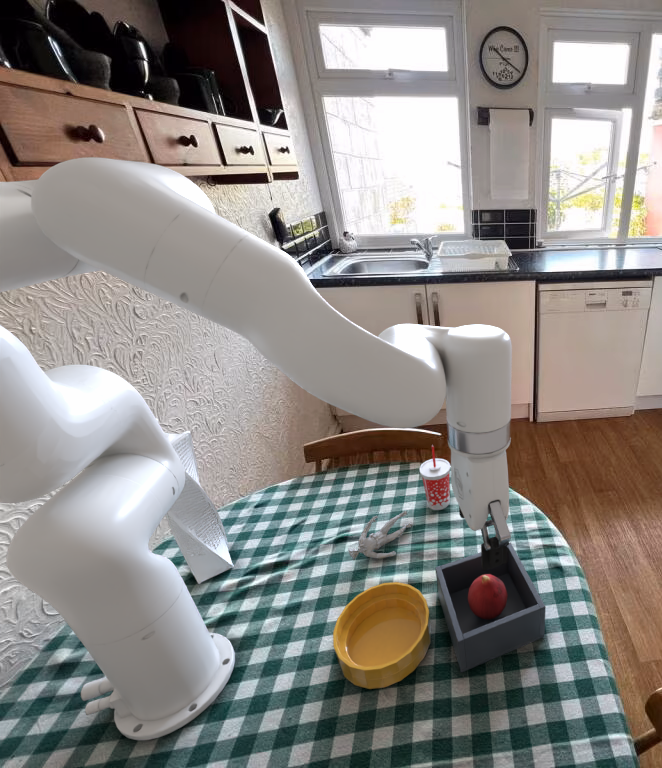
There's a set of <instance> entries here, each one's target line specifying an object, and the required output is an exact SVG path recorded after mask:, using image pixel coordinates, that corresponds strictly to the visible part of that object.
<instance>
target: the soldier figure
mask: <svg viewBox="0 0 662 768" xmlns="http://www.w3.org/2000/svg"><path fill="white" fill-rule="evenodd" d="M407 515H408V511H407V510H404V511H403V512H401V513H399V514H397V515H396V516H394V517H392V518H390V519H389V520H387V521H386V522H385V524H384V525H383V526H382V527H381V528H380V529H379V530H378V531H376V532H372V533H370V534H369V535H368V533H369V531H370V529H371V527H372V524H373V523H375V522H378V521H377V519H378V518H379V517H378V515H374V516H372V518H371V519H370V520H369V521H368V522H367V524H366V525H365V527H363V529H362V531H361V534H360V536H359V539H358V546H357V548H356V547H353V548H347V551H348V554H349V556H350V558H351V559H352V560H353V561H355V560H356V559H357V557H358V556H359V553H360V554H363V555H364V556H365V557H367V558H372V559H378V560H379V559H386V558H391V557H394V556H396V555H397V552H396V551H395V550H393V551H391V552H388V553H386V552H385V553H384V552H383V553H382V552H375V551H377V550H379V549H380V548H381V547H383V546H385V545H387V544H389V543H391V542H393V541H394V540H396V539H397V538H400V537H402V536H403V533H404V532H405V531H406V529H409V528H412V527H414V523H413V522H408V523H406V524H404V525H403V526H402V527H401V528H399V529H398V530H396V531H394V532H392V533H389V531H390V530H391V528H393V526H394V525H395V524H396V522H397V521H398V520H399V519H400V518H403V517H406V516H407ZM388 533H389V534H388ZM367 535H368V537H367Z"/></svg>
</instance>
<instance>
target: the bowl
mask: <svg viewBox="0 0 662 768" xmlns="http://www.w3.org/2000/svg"><path fill="white" fill-rule="evenodd" d="M428 605H429V604H428V602H427V599H426V597H425V596H424V595H423V593H422V592H421V591H420V590H419V589H417V588H416V587H414V586H412V585H411V584H409V583H408V584H407V583H404V582H399V581H395V582H392V581H391V582H383V583H379V584H377V585H374V586H370V587H368V588H367V589H365V590H363V591H362V592H360V593H358V594H357V595H356V596H355V597H354V598H353V599H352V600H350V602H349V603H347V604H346V605H345V607H344V608H343V609H342V611H341V612H340V614H339V616H338V617H337V619H336V623H335V625H334V627H333V631H332V641H333V642H332V645H333V646H332V647H333V650H334V653H335V656H336V659H337V663H338V666H339V668H340V670H341V672H342V674H343V676H344V678H346V679H347V680H348V681H349V682H350V683H352V684H353V685H354V686H357V687H360V688H363V689H364V688H365V689H366V690H367V689H368V690H372V689H373V690H374V689H382V688H383V689H384V688H386V687H390V686H391V685H394V684H396V683H398V682H401V681H402V680H404V679H405V678H406V677H408V676H409V675H410V674H412V673H413V672H414V671H415V670H416V669H417V668H418V666H419V665H420V663H422V661H423V660H424V658H425V657H426V654H427V652H428V649H429V648H430V644H431V640H432V631H433V630H432V622H431V615H430V610H429V606H428Z"/></svg>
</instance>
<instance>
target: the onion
mask: <svg viewBox="0 0 662 768" xmlns="http://www.w3.org/2000/svg"><path fill="white" fill-rule="evenodd" d="M507 596H508V595H507V591H506V588H505V585H504V583H503V582H502V581H501V580H500V579H498V578H497V577H495V576H493V575H491V574H485V575H482V576H480V577H478V578H477V579H475V580H474V581H473V583H472V585H471V586H470V588H469V593H468V602H469V606H470V609H471V610H472V612H473V613H474V614H475V615H477V616H478V617H480V618H482V619H487V620H489V619H493V618H495V617H497V616H498V615H500V614H501V613H502V611H503V610H504V608H505V607H506V602H507Z"/></svg>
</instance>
